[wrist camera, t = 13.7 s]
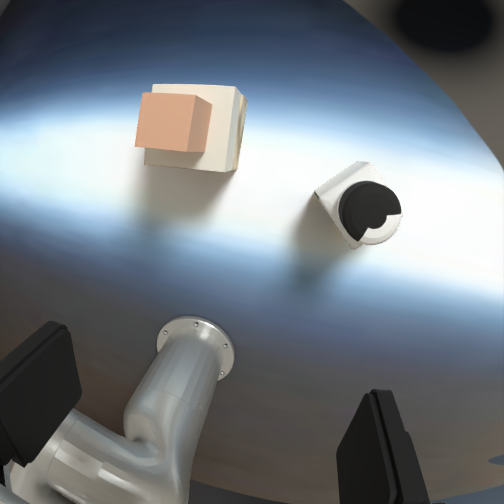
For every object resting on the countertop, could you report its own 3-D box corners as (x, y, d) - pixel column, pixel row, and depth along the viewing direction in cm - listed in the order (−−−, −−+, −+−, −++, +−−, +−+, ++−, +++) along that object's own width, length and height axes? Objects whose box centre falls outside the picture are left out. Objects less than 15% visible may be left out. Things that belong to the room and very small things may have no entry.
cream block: (232, 170, 36) (224, 172, 32) (159, 162, 37) (143, 164, 33) (241, 94, 34) (235, 86, 29) (167, 90, 34) (153, 84, 30)
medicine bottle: (313, 190, 40) (322, 206, 29) (357, 159, 38) (384, 163, 27) (343, 235, 41) (362, 266, 30) (387, 205, 40) (421, 225, 28)
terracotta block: (204, 151, 32) (186, 151, 26) (160, 146, 32) (134, 146, 26) (212, 104, 30) (195, 94, 24) (167, 101, 30) (142, 92, 25)
